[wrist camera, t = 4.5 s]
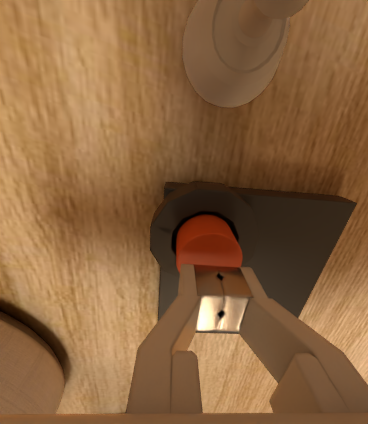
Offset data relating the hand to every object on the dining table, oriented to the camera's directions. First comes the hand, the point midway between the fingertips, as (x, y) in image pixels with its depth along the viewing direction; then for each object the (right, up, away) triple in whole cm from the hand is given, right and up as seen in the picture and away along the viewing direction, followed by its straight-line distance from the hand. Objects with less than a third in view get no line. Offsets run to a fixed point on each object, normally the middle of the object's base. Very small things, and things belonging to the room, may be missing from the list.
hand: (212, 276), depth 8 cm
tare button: (0, +1, +3) cm, 3 cm away
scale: (+3, -1, +7) cm, 8 cm away
